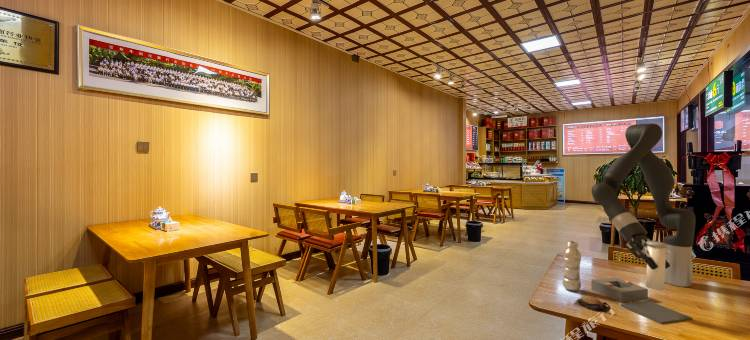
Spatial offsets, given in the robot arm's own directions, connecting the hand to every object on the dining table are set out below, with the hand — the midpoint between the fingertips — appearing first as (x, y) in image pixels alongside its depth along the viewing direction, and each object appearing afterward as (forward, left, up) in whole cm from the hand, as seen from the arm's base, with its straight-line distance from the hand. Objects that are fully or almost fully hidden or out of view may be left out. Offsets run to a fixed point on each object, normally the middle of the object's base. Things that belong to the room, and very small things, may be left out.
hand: (661, 267), depth 115 cm
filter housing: (-3, -18, -17) cm, 25 cm away
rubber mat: (0, -2, -17) cm, 17 cm away
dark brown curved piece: (+17, -11, -17) cm, 27 cm away
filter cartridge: (0, -2, -8) cm, 8 cm away
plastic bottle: (+12, -26, -17) cm, 33 cm away
